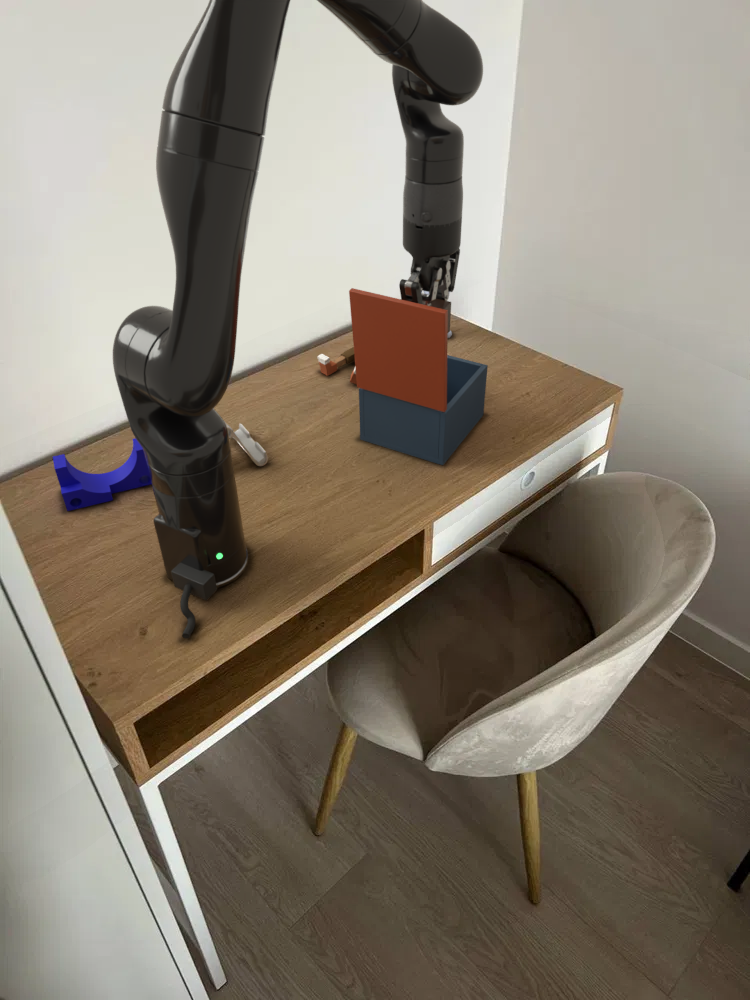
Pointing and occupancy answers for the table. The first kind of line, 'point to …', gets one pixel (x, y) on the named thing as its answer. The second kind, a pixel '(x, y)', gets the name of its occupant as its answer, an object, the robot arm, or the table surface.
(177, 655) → the table surface
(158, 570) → the table surface
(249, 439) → the tablet stand
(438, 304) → the walnut block
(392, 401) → the sorter box
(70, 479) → the blue cradle bracket
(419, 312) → the lid
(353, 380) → the character figurine
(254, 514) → the table surface
